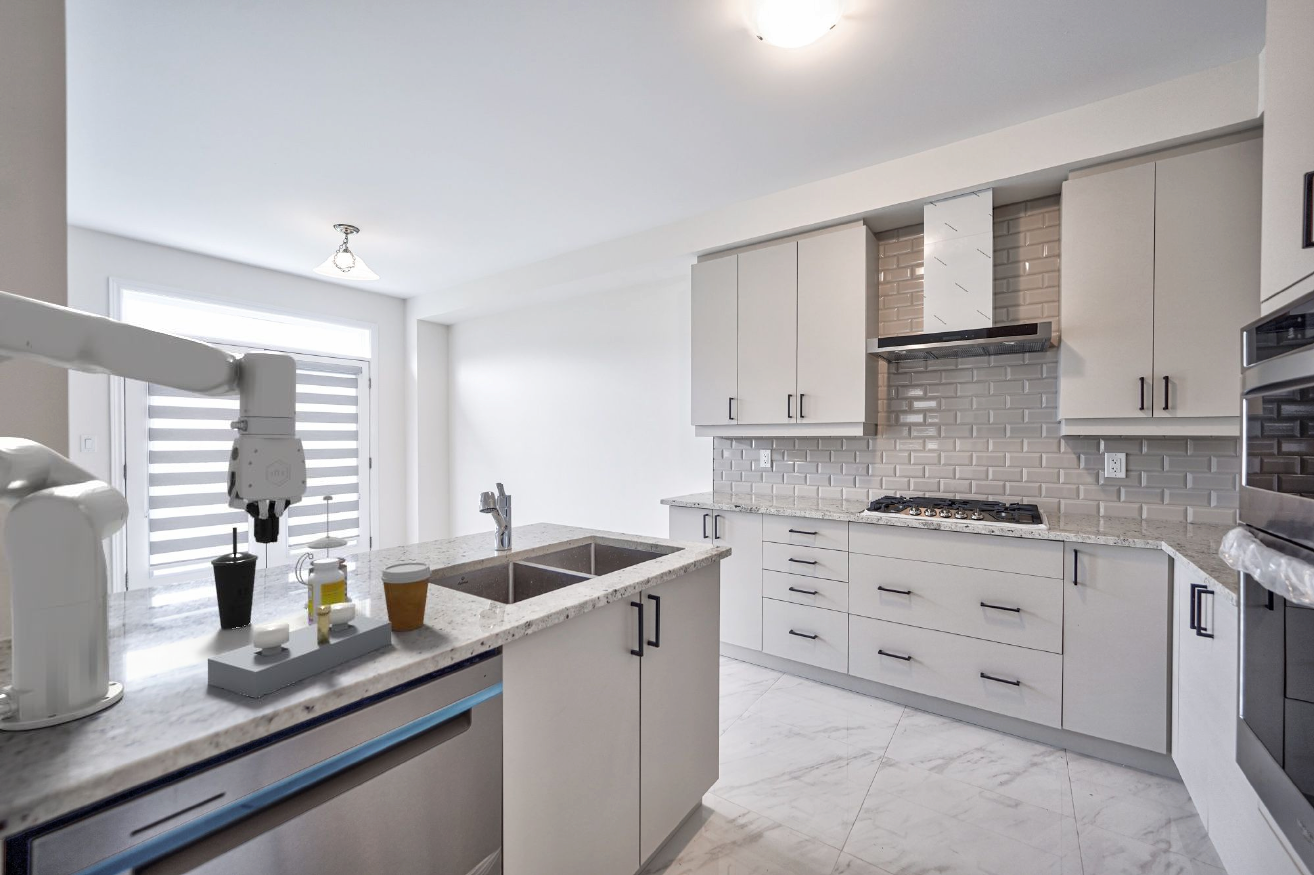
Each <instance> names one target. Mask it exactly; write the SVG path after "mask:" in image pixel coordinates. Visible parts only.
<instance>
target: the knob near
mask: <svg viewBox="0 0 1314 875" xmlns="http://www.w3.org/2000/svg"><path fill="white" fill-rule="evenodd" d="M289 632H290V623H288V622H273V623H269V624H264V625H261V626H257V627H256V628H254V629H253V634H252V637H253V639H252V641H253V642H252V644H253V646H254V647H255V648H262V656H265V657H268V656H271V655H274V654H277V653H280V652H281V645H282V644H284V643H286V642H288V641H289Z"/></svg>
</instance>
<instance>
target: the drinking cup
mask: <svg viewBox="0 0 1314 875" xmlns="http://www.w3.org/2000/svg"><path fill="white" fill-rule="evenodd" d="M258 559H259V556H258V555H257V554H252V553H248V552H243V551H239V552H238V528H237V527H235V526H234V527H232V552H230V553H226V554H223V555H221V556H219V557H217V558H215V559H212V560H211V563H210V564H211V566H212V567H213V575H214V584H215V592H216V599H217V607H218V616H219V624H220V629H221V628H222V629H221V630H233V629H232V628H236V627H241V628H243V627H242V626H244V625H247V626H249V625H250V624H251V619H252V609H253V600H254V588H255V580H256V579H255V578H256V568H257V561H258ZM249 623H250V624H249ZM248 624H249V625H248ZM244 627H245V626H244ZM236 629H237V628H236Z"/></svg>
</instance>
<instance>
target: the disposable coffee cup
mask: <svg viewBox="0 0 1314 875" xmlns="http://www.w3.org/2000/svg"><path fill="white" fill-rule="evenodd" d="M431 574H432V570H431V567H430V565H429V563H425V562H418V561H417V562H413V561H412V562H402V563H394V564H391V565H388V566H385V567H383V570H382V573H381V574H380V575H379V576H380V579H381V581H382V584H383V589H384V590H383V592H384V597H385V604H386V610H387V611H386V612H387V618H388V620H387V621H390V622H391V631H394V632H405V631H412V630H416V629H419V628H420V627H422V626H423V625H424V619H425V614H426V613H425V612H426V604H427V597H428V588H429V581H430V577H431Z"/></svg>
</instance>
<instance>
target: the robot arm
mask: <svg viewBox="0 0 1314 875" xmlns="http://www.w3.org/2000/svg"><path fill="white" fill-rule="evenodd" d="M16 359H21V360H24V361H25V360H26V361H30V362H33V363H34V362H36V363H40V364H44V365H49V366H52V367H53V366H54V367H58V368H62V369H66V370H67V369H69V370H72V371H76V372H82V373H86V374H92V375H93V374H94V375H96V374H97V375H99V374H101V375H109V376H110V375H111V376H115V377H121V378H124V379H125V378H126V379H129V380H134V381H139V382H144V383H149V384H152V385H158V386H161V387H166V388H171V389H176V390H179V391H184V392H188V393H193V394H197V395H201V396H206V397H218V398H219V397H232V396H239V416H238V419H237V420H232V421H231V422H230V429H231V430H234V431H235V430H236V431H237V434H238V437H234V439H233V443H232V447H231V450H230V455H229V459H228V460H229V461H228V468H227V486H226V487H227V495H228V498H229V501H228V504H227V505H228V508H229V509H233V510H234V509H236V510H241V511H242V510H243V511H245V512H246V513H247V514H248V515H249V516H250V518H253V537H254V539H255V542H256V543H259V544H266V545H267V544H270V543H273V544H274V543H277V542H278V540H279V539H278V538H279V537H278V536H279V535H280V518H281V517H283V515H284V512H285V511H286V510H287V509H288V508H289V507H290V506H293V505H295V504H299V503H301V502H302V501H303V496H304V495H305V493H306V492H307V483H308V482H307V466H306V465H307V464H306V457H305V451H304V450H305V449H304V447H303V443H302V439H301V437H296V422H297V421H296V417H297V416H296V415H297V414H296V412H297V411H296V410H297V409H296V408H297V407H296V406H297V405H296V404H297V362H296V360H295V359H294V357H292V356H291V355H288V354H287V353H286V354H285V353H281V352H276V351H275V352H274V351H256V350H255V351H248V352H245V353H243V354H242V353H241V354H239V353H233V352H228V351H226V350H223V349H221V348H219V347H217V346H215V345H213V344H209V343H207V342H205V341H200V340H196V339H193V338H192V339H191V338H188V337H184V336H182V335H181V336H180V335H177V334H172V333H168V332H164V331H160V330H156V329H153V328H147V327H144V326H139V325H136V324H131V323H127V322H123V321H119V320H116V319H113V318H110V317H107V316H103V315H99V314H95V313H90V312H87V311H81V310H78V309H75V308H74V309H73V308H70V307H66V306H62V305H58V304H56V303H50V302H46V301H43V300H40V299H34V298H31V297H26V296H23V295H19V294H14V293H11V292H8V291H7V292H6V291H3V290H0V365H2V364H5V363H8V362H11V361H13V360H16ZM1 504H4V505H6V506H7V507H9V508H10V509H9V510H8V513H7V514H6V516H5V518H4V520H3V524H2V527H1V529H2V530H1V538H2V545H3V550H4V553H5V558H6V561H7V564H8V573H9V574H8V575H9V584H10V585H9V586H10V587H9V588H10V609H11V610H10V611H11V613H10V614H11V616H10V618H11V619H10V620H11V685H7V686H3V687H2V694H0V729H1V730H5V731H23V730H24V731H25V730H26V731H27V730H32V729H33V730H36V729H41V728H45V727H50V726H51V727H52V726H55V725H58V724H59V725H60V724H63V723H68V722H71V721H74V720H77V719H81V718H83V717H86V716H89V715H92V714H94V713H97V712H99V711H102V710H103V709H105V708H106V709H107V708H108V707H110V706H112V705H114V704H115V703H116V702H118V701H119V700H120V699H121V698H122V697H123V696H124V695H125V694H124V693H125V691H124V690H125V687H124V685H123V684H122V683H120V682H117V681H111V680H110V627H109V626H110V623H109V622H110V621H109V620H110V616H109V615H110V614H109V611H110V609H109V608H110V606H109V604H110V603H109V599H110V597H109V573H108V572H109V570H108V565H107V559H106V554H105V550H104V543H103V540H104V541H105V540H106V539H108V538H110V537H112V536H113V535H115V534H116V533H117V532H120V530H121V529H122V528H123V527H124V525H125V524H126V522H127V520H128V519H129V518H128V517H129V513H130V509H129V508H130V507H129V503H128V501H127V499H126V498H125V496H124V495H123V493H121V492H120V491H119V490H118V488H116V487H115V486H113V485H112V484H110V483H109V482H107V481H105V480H104V479H102V478H100V477H99V476H97V475H96V474H94V473H92V472H91V471H88V469H86V468H84V467H83V466H81V465H79V464H77V463H75V462H74V461H72V460H70V459H69V458H67V457H65V456H64V455H62V454H61V453H59V452H58V451H56V450H54V449H52V448H51V447H49V446H46V445H44V444H42V443H39V442H36V441H34V440H32V439H31V440H30V439H26V438H21V437H10V436H9V437H8V436H3V437H2V436H0V505H1Z"/></svg>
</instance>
